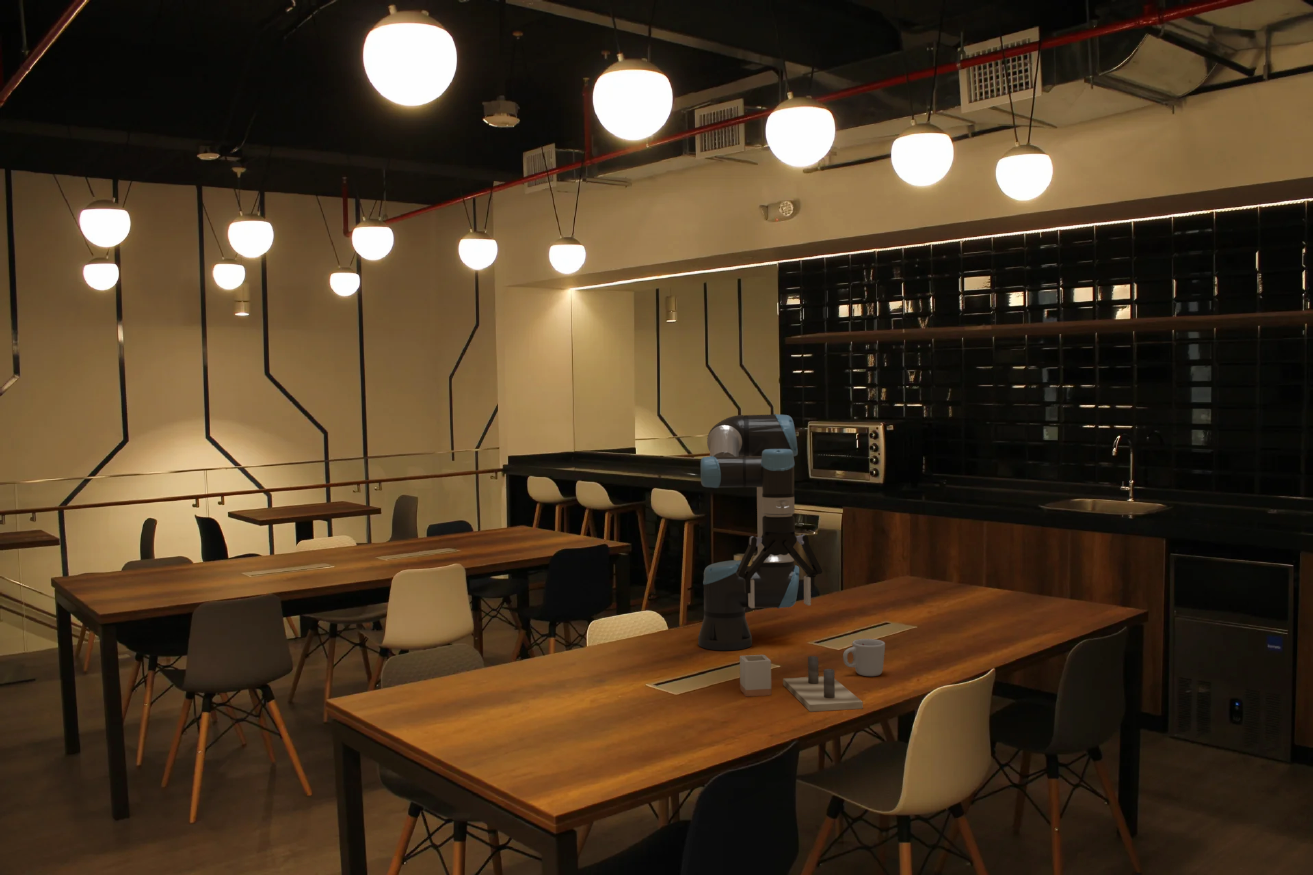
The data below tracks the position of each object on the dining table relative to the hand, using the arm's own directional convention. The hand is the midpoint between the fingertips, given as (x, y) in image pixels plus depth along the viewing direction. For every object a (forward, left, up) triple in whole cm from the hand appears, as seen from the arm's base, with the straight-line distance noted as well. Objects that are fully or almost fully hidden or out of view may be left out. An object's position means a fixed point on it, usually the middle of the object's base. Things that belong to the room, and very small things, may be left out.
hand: (779, 605), depth 234 cm
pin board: (+5, +8, -20) cm, 22 cm away
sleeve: (-1, -6, -20) cm, 21 cm away
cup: (-11, +24, -20) cm, 33 cm away
